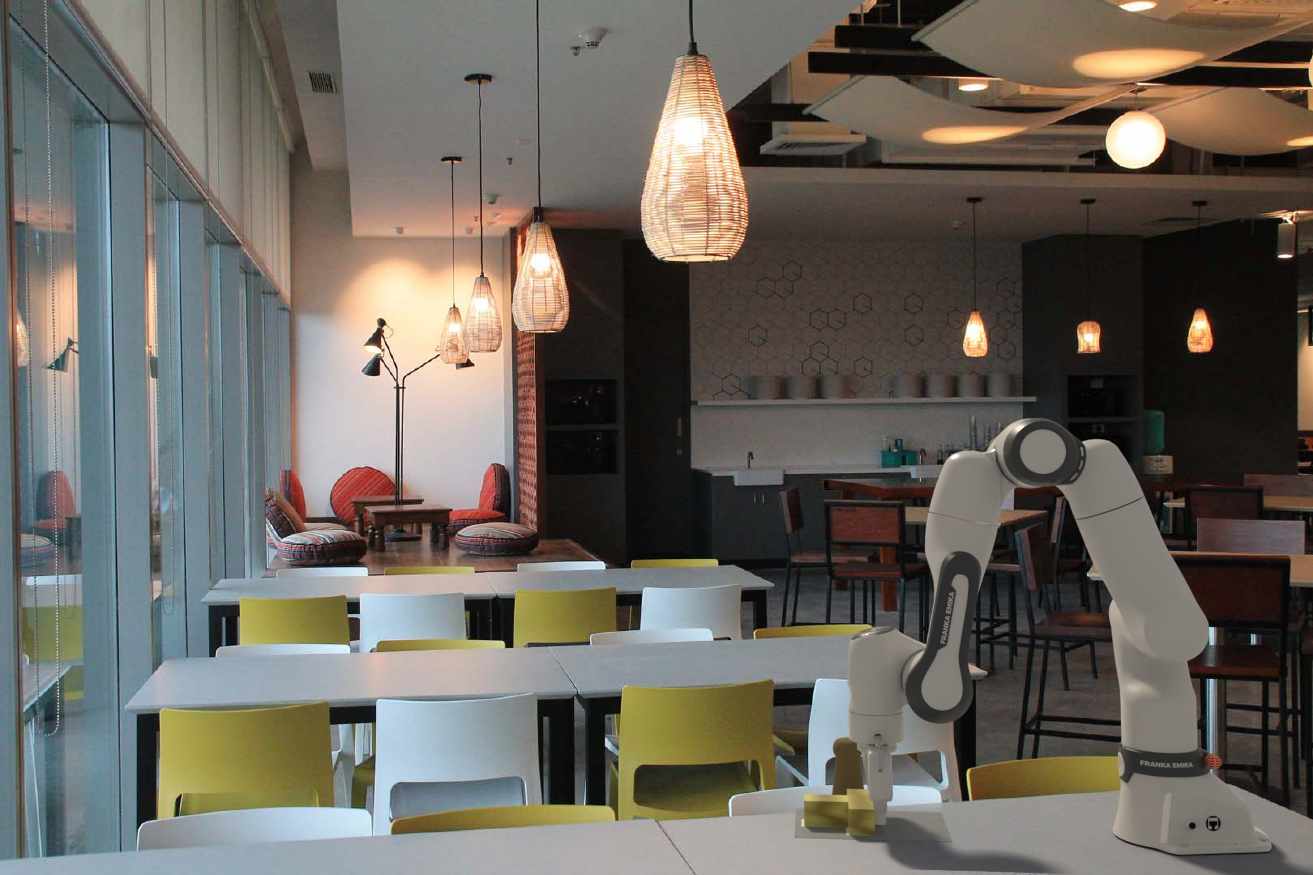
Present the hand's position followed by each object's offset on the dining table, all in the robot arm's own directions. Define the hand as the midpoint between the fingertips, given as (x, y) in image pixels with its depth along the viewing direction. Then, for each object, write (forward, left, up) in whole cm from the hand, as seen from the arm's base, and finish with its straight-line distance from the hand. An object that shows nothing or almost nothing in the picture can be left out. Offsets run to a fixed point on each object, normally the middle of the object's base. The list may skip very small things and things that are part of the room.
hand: (878, 814), depth 193 cm
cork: (+4, -17, -3) cm, 18 cm away
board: (+1, 0, -3) cm, 3 cm away
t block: (+6, 0, -2) cm, 7 cm away
